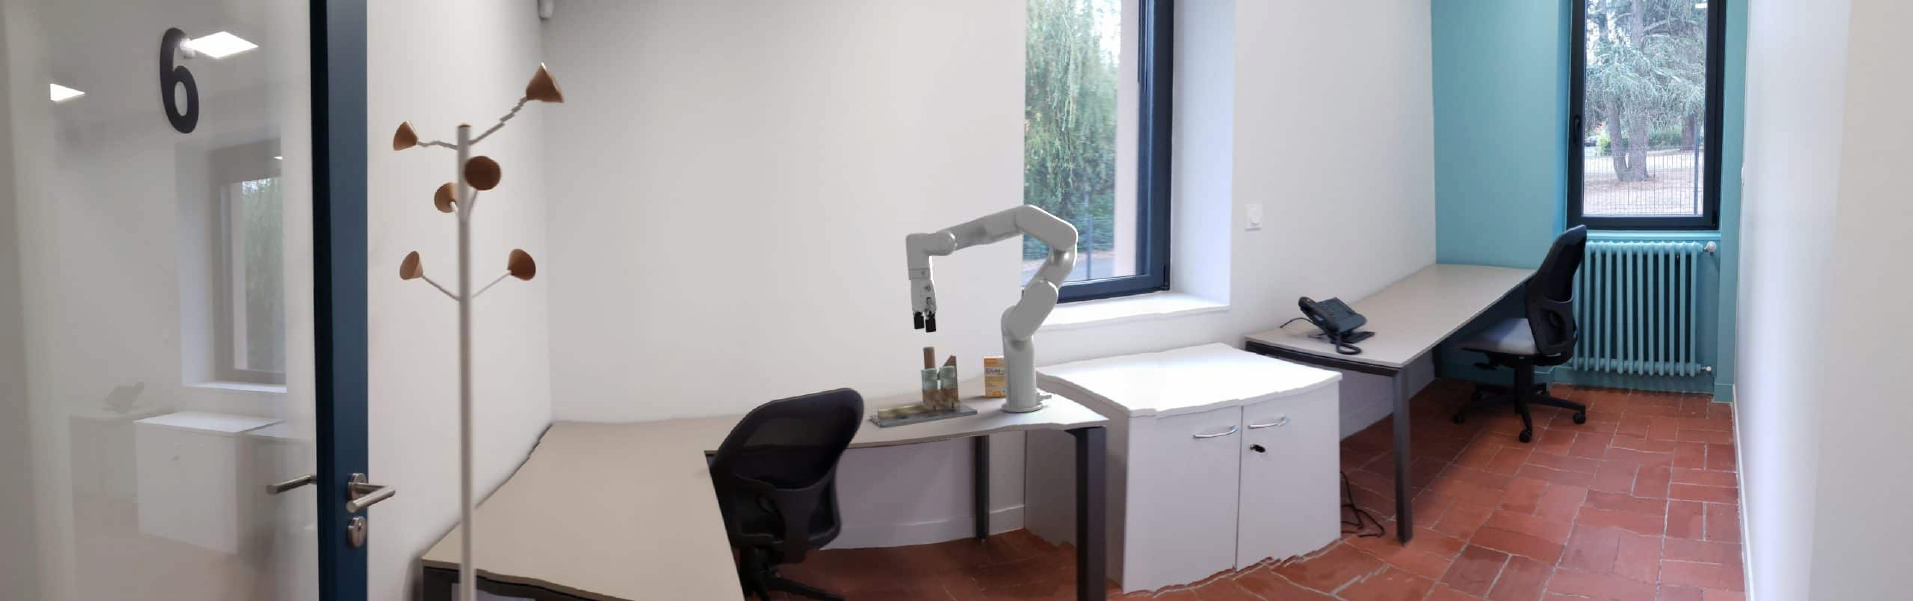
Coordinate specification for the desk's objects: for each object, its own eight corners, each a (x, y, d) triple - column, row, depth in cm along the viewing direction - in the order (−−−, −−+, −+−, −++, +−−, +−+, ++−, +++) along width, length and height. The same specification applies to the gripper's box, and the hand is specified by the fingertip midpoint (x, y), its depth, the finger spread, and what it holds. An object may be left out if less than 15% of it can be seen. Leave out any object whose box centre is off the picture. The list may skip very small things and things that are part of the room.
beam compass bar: (957, 404, 327) (954, 363, 326) (965, 408, 321) (963, 366, 320) (878, 416, 318) (875, 374, 316) (885, 420, 312) (882, 377, 310)
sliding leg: (933, 406, 324) (931, 367, 323) (941, 410, 318) (938, 370, 317) (921, 408, 322) (919, 368, 321) (929, 412, 317) (926, 371, 315)
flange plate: (960, 405, 331) (959, 402, 331) (977, 413, 318) (977, 409, 318) (869, 418, 320) (869, 415, 320) (883, 427, 307) (883, 423, 307)
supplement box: (985, 397, 340) (982, 358, 339) (987, 394, 345) (984, 355, 344) (1010, 397, 339) (1008, 357, 338) (1012, 394, 344) (1009, 354, 342)
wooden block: (959, 399, 341) (955, 344, 339) (929, 404, 336) (925, 348, 334) (953, 397, 344) (950, 343, 342) (924, 402, 339) (920, 347, 337)
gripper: (943, 274, 309) (947, 331, 311) (922, 271, 325) (926, 326, 326) (919, 277, 306) (923, 335, 308) (899, 274, 322) (903, 329, 324)
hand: (925, 330), depth 317 cm, fingers open, 9 cm apart
